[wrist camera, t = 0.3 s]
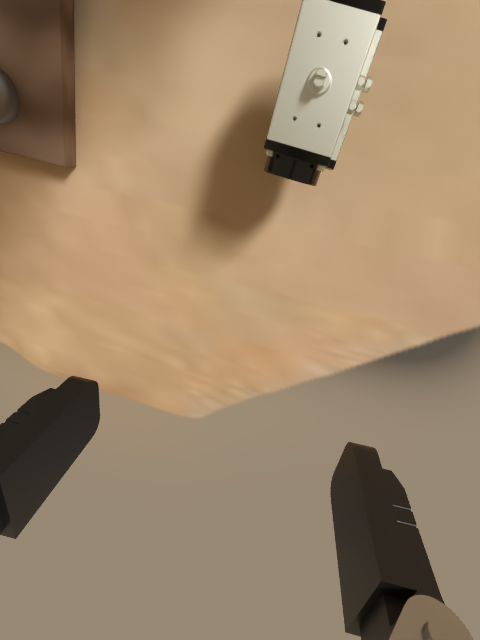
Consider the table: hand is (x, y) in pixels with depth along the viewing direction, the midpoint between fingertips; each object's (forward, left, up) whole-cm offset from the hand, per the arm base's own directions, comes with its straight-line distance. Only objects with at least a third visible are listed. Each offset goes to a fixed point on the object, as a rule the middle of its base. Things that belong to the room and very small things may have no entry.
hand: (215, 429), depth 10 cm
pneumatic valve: (-13, +1, -29) cm, 32 cm away
